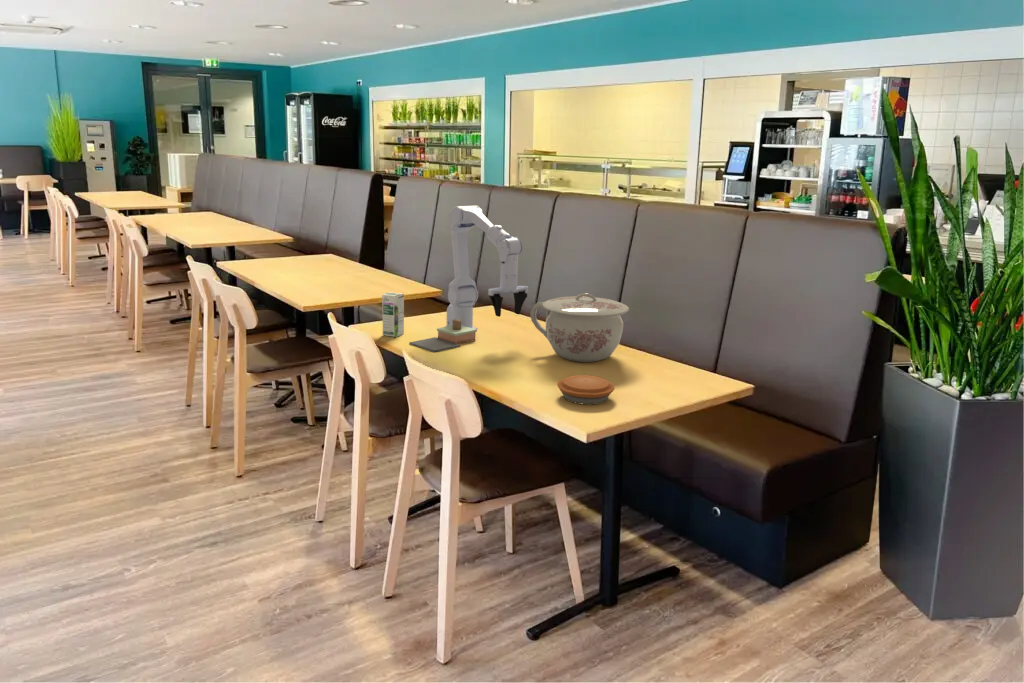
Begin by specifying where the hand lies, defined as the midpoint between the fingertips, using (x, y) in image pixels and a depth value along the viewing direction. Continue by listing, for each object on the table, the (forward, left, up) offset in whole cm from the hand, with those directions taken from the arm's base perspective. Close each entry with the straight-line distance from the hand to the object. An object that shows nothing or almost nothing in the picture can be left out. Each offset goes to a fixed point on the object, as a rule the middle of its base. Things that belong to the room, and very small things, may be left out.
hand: (507, 314), depth 259 cm
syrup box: (-34, -22, -10) cm, 42 cm away
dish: (-15, -10, -10) cm, 20 cm away
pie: (+53, -23, -10) cm, 59 cm away
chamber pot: (+26, +8, -10) cm, 29 cm away
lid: (-15, -10, -7) cm, 19 cm away
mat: (-14, -20, -10) cm, 26 cm away
